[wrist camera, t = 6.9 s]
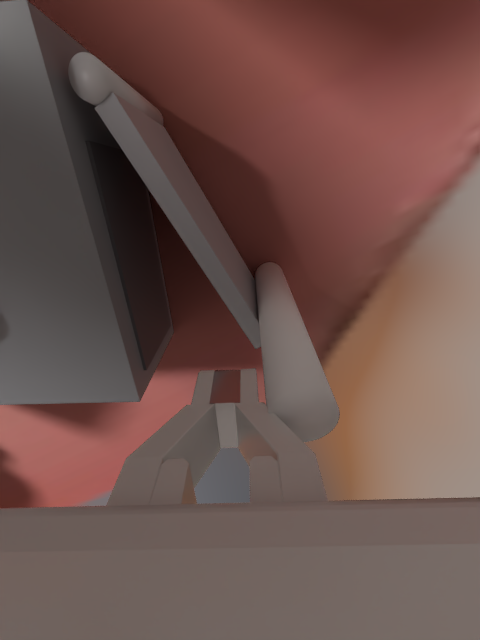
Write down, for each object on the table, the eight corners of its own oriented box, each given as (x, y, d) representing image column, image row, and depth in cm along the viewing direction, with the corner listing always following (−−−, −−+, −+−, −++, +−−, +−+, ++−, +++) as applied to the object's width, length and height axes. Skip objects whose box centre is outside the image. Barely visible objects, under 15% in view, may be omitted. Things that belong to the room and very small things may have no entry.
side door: (135, 115, 14) (-229, -107, 3) (179, 78, 13) (-101, -357, 3) (250, 300, 18) (254, 462, 8) (287, 280, 18) (349, 427, 7)
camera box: (-67, 45, 13) (-435, -119, 6) (122, 29, 13) (-35, -165, 6) (53, 336, 20) (-50, 417, 13) (175, 332, 20) (137, 414, 13)
